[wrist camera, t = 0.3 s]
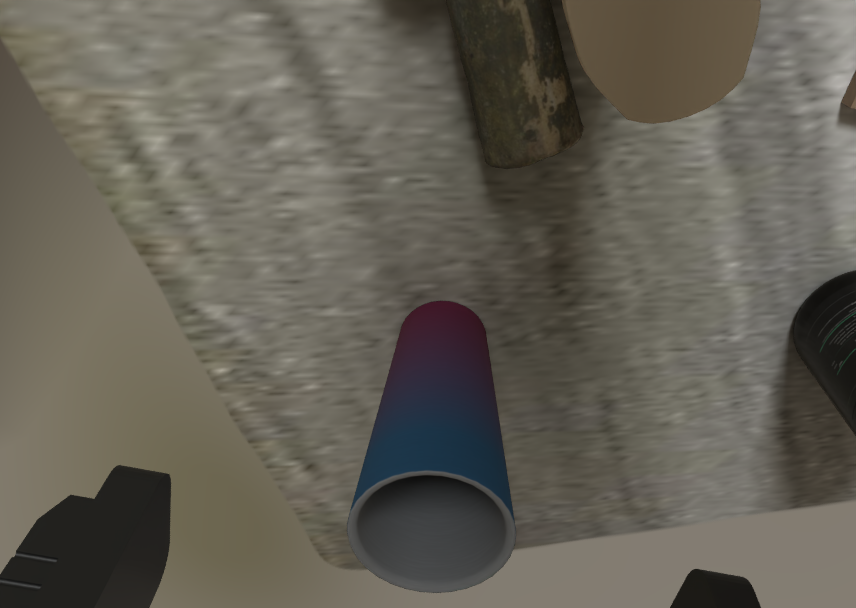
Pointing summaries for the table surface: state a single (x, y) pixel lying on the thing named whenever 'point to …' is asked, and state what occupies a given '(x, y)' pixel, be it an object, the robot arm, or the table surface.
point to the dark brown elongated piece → (516, 79)
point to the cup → (435, 461)
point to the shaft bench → (851, 94)
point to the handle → (663, 52)
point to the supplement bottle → (831, 341)
